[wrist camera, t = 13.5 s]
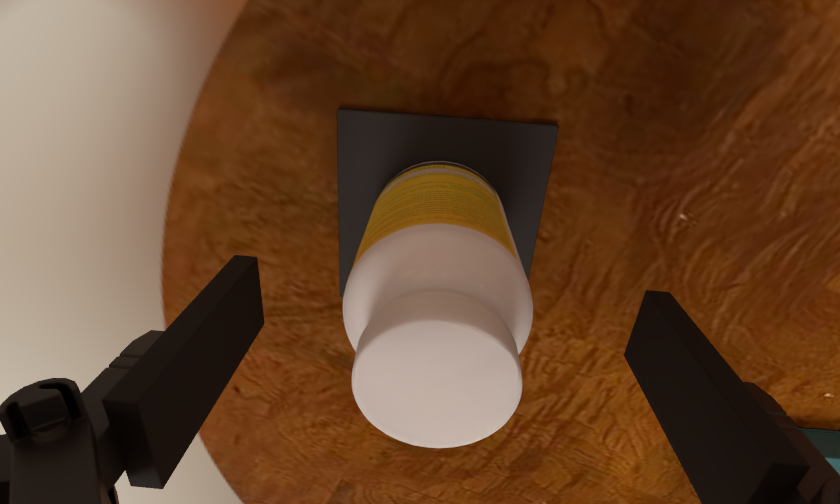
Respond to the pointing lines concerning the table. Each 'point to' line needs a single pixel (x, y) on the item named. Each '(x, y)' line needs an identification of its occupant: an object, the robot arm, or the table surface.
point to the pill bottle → (437, 309)
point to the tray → (826, 444)
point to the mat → (440, 141)
